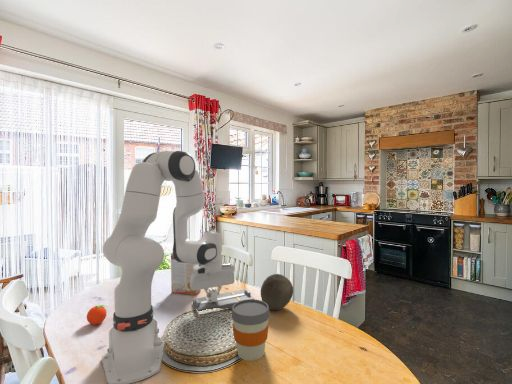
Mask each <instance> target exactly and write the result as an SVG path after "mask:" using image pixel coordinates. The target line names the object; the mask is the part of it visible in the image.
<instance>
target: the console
mask: <svg viewBox="0 0 512 384" xmlns="http://www.w3.org/2000/svg"><path fill="white" fill-rule="evenodd" d="M247 299H255V297H253V296H252V294H251V291H249V290H248V289H247V288H244V289H239V290H234V291H229V292H224V293H219V296H217V301H216V302H211V301H210V299H209V297H208V298H207V296H203V297H196V298H193V299H192V306H193V307H194V308H193V309H195V310H196V309H197V310H198V311H202V310H206V309H213V308H229V309H228V310H232V307H233V305H234V304H235V303H237V302H239V301H242V300H247Z"/></svg>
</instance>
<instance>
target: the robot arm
mask: <svg viewBox="0 0 512 384" xmlns="http://www.w3.org/2000/svg"><path fill="white" fill-rule="evenodd" d="M165 181H167V182H172V183H173V185H174V188H175V189H174V191H175V199H176V205H175V207H174V208H173V209H174V210H173V212H172V226H173V232H172V233H173V247H172V253H173V256H174V258H175V260H176V261H177V262H182V263H191V264H197V265H195V266H193V267H192V269H193V273H192V274H191V278H190V288H191V289H192V290H193V291H195V290H200V289H201V290H204V292H205V293H206V297H207V298H208V297H211V296H210V295H211V293H210V292H209V288H213V287H214V288H216V290H217V296H219V294H220V291H221V290H222V287H223V286H228V285H229V286H230V285H233V284H235V275H234V274H235V266H234V265H233V263H228V264H225V263H224V264H223V256H222V252H223V241H222V240H223V239H222V235H221V233H220V232H219V231H211V230H206V231H204V232H203V235H202V237H200V239H199V240H192V239H190V238H189V237H188V220H189V218H190V217H192V216H194V215H196V214H198V213H199V212H200V211H202V209H203V208H204V206H205V193H204V187H203V182H202V178H201V176H200V173H199V171H198V169H197V168H196V163H195V160H194V158H193V156H192V154H191V153H189V152H187V151H184V150H164V151H163V150H162V151H158V152H152V153H150V154H148V155H147V156H146V157H144V159H143V161H142V162H138V163H136V164H135V165H134V166H133V167H132V170H131V171H130V175H129V177H128V179H127V183H126V187H125V192H124V196H123V197H124V198H123V201H122V206H121V211H120V214H119V217H118V220H117V222H116V225H115V227H114V229H113V231H112V232H111V235H110V236H109V237H108V238H107V239H106V240H105V241H104V243H103V245H102V254H103V256H104V257H105V259H107V261H108V263H109V262H110V263H111V264H112V265H114V266H117V267H120V268H121V276H120V280H119V282H118V284H117V285H116V286H115V288H114V291H113V292H114V293H113V294H114V312H113V318H112V321H113V323H112V326H113V327H111V328H110V329H109V330H108V348H107V350H106V352H105V353H103V355H102V356H101V362H102V366H103V371H104V375H105V379H106V383H107V384H133V383H136V382H139V381H142V380H146V379H148V378H150V377H152V376H153V375H155V374H157V373H158V372H160V370H161V368H162V367H161V366H162V363H163V362H162V360H163V356H164V355H163V354H164V349H165V341H164V340H163V339H161V338H160V337H159V333H160V328H158V320H157V319H155V318H154V307H153V305H152V283H153V279H154V275H155V272H156V271H157V269H158V268H159V267H160V266H161V265H162V263H163V261H164V257H165V251H164V248H163V246H162V244H160V242H158V241H156V240H155V239H153V238H151V237H146V233H147V231H148V229H149V228H150V226H151V225H152V224H153V223H154V222H155V221H156V219H157V215H158V208H159V206H160V205H159V203H160V199H161V192H162V185H163V184H164V182H165ZM163 341H164V342H163Z"/></svg>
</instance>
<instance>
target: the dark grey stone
mask: <svg viewBox="0 0 512 384" xmlns="http://www.w3.org/2000/svg"><path fill="white" fill-rule="evenodd" d="M293 295H294V287H293V284H292V281H291V280H290V279H288V278H287V277H286V276H285V275H283V274H280V273H274V274H271V275H269V276H267V277H266V279H265V280H263V283H262V284H261V287H260V297H261V301H263V302H265V303H267V304H268V306H269V310H272V311H279V310H282V309H283V308H285V307H287V306H288V304H289V303H290V302H291V300H292V297H293Z"/></svg>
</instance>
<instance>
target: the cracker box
mask: <svg viewBox="0 0 512 384" xmlns="http://www.w3.org/2000/svg"><path fill="white" fill-rule="evenodd" d="M195 265H197V264H191V263H182V262H177V261H176V260H175V258H174V256H173V252H171V253H170V278H171V279H170V280H171V281H170V285H171V290H170V291H171V293H172V294H181V295H194V296H195V295H197V294H199V293H200V292H201V290H202V289H200V290H195V291H193V290H192V289H191V288H190V278H191V274H192V273H193V269H192V267H193V266H195Z"/></svg>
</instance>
